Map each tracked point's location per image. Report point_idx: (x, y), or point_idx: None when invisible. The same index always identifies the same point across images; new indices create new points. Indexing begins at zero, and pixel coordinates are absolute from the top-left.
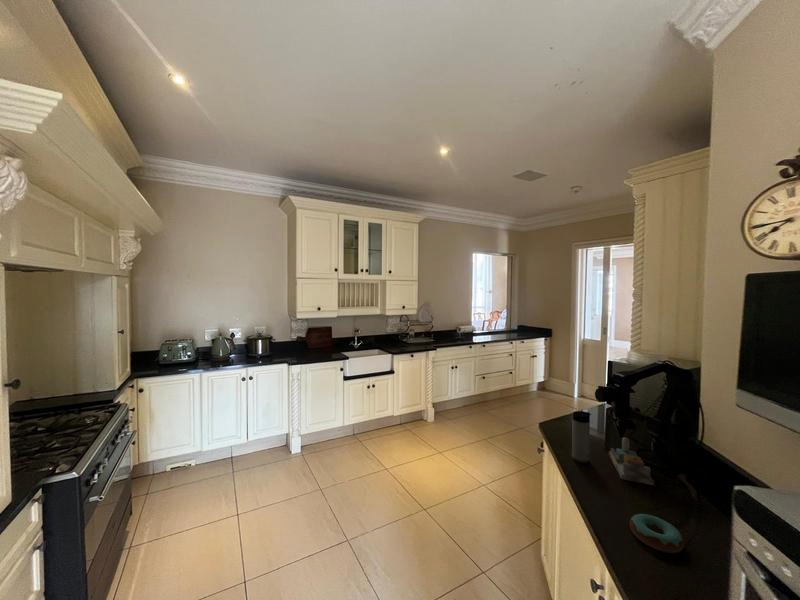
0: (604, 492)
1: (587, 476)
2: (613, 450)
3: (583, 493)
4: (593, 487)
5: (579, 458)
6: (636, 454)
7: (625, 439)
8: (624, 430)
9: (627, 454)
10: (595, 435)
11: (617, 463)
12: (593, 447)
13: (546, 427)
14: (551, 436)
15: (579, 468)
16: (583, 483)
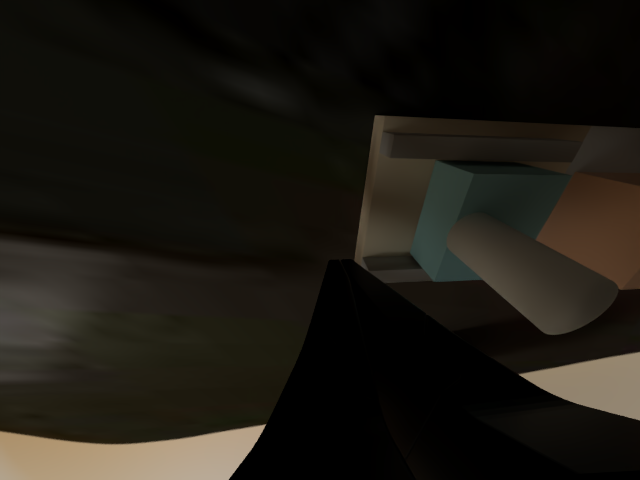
0: (629, 311)
1: (541, 340)
2: (403, 276)
3: (614, 348)
4: (598, 331)
5: None
6: (441, 136)
7: (596, 314)
8: (447, 344)
9: (531, 236)
10: (73, 294)
11: None
12: (293, 314)
13: (163, 437)
14: (256, 419)
15: (493, 355)
16: (574, 348)
